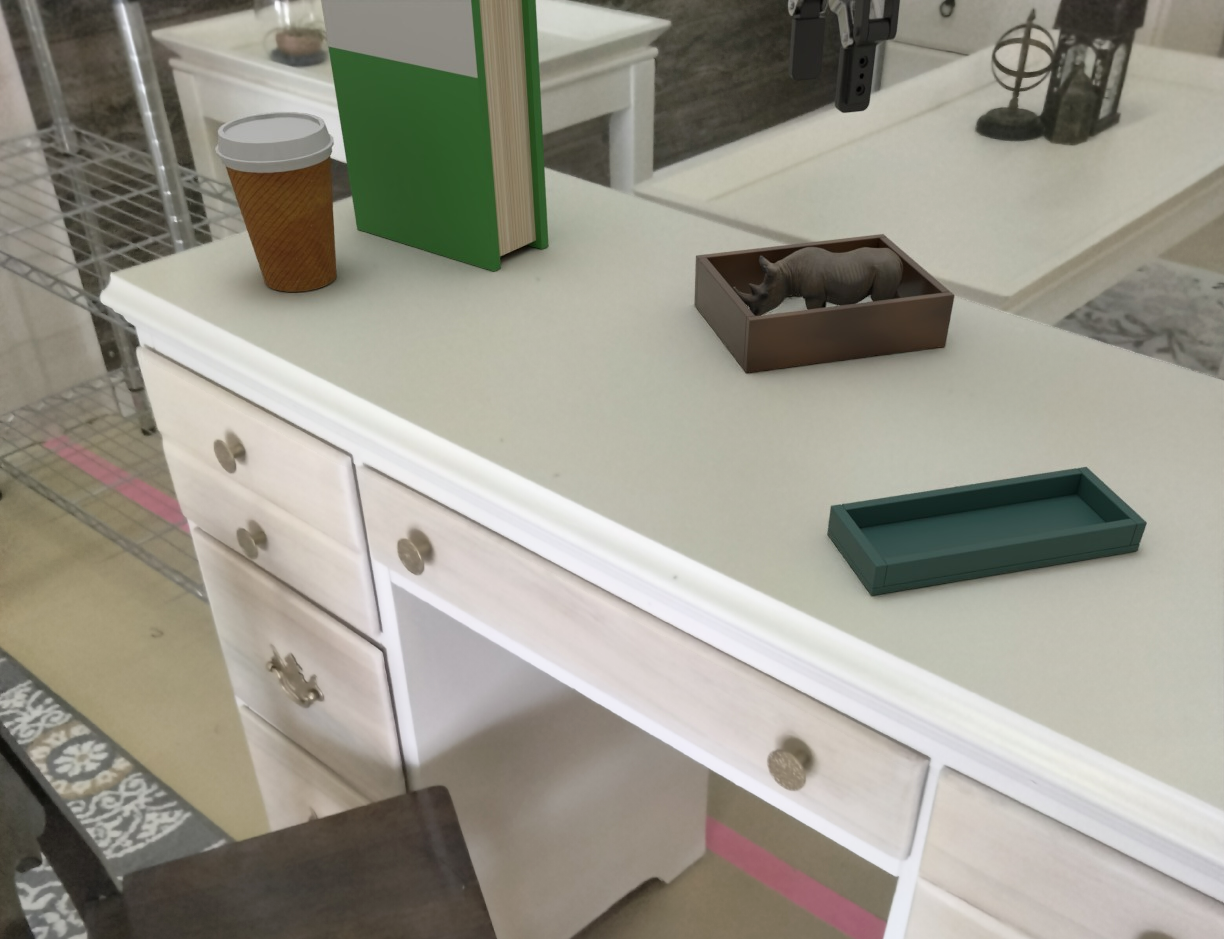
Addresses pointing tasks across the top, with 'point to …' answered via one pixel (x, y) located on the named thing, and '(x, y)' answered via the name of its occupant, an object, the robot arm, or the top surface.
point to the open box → (819, 311)
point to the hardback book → (442, 122)
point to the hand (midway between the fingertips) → (826, 93)
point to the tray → (983, 529)
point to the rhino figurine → (826, 278)
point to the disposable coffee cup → (284, 195)
